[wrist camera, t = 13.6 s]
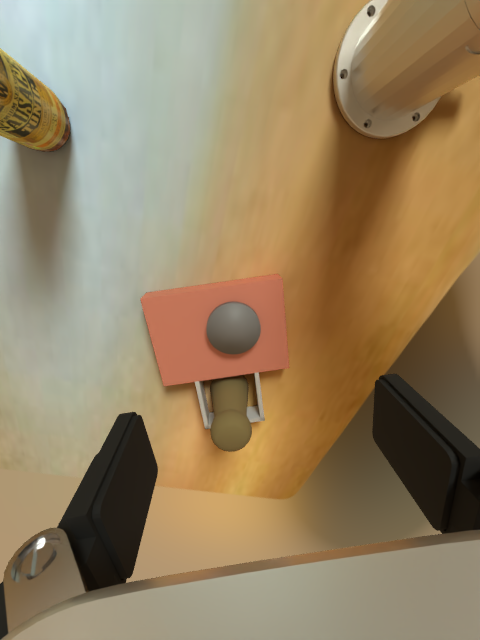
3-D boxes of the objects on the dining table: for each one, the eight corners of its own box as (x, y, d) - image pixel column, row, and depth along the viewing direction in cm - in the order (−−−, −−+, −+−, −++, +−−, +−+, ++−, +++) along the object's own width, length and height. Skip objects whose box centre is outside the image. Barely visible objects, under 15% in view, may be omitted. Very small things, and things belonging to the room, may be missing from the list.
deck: (277, 274, 38) (284, 280, 34) (288, 403, 45) (294, 421, 41) (146, 292, 37) (137, 301, 34) (179, 419, 45) (175, 439, 41)
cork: (212, 369, 42) (208, 418, 32) (251, 372, 43) (260, 422, 33) (208, 401, 44) (204, 458, 34) (245, 404, 45) (252, 461, 35)
